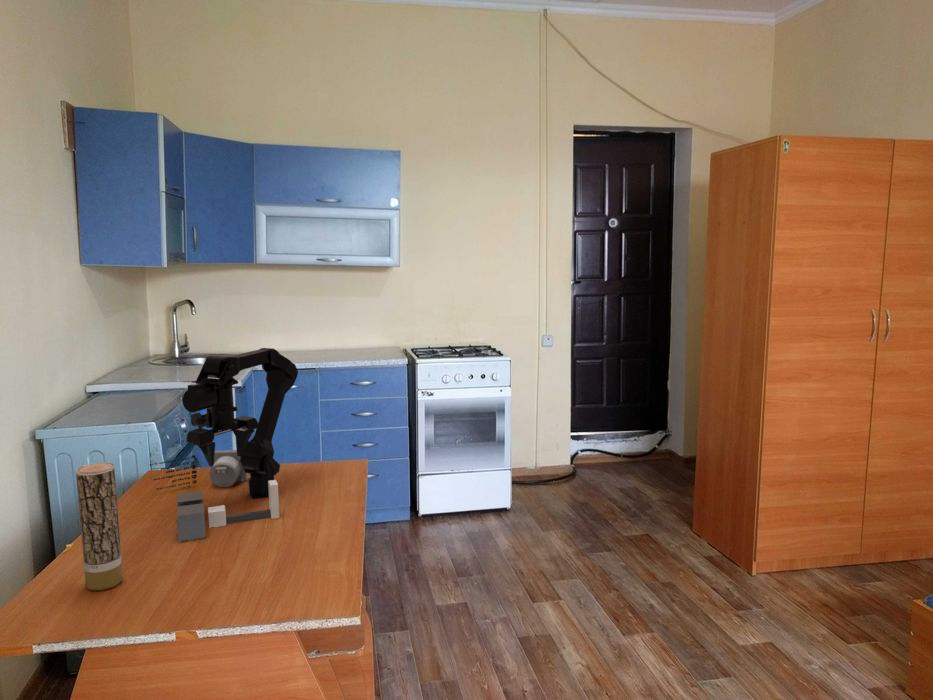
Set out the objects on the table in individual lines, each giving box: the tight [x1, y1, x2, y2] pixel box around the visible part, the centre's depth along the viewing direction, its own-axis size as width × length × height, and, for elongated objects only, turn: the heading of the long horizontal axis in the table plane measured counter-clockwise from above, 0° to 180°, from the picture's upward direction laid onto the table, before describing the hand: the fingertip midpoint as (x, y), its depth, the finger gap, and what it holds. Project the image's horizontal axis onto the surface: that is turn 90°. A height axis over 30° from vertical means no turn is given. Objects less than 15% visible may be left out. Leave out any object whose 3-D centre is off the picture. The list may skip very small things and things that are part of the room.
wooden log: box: [75, 462, 124, 591], centre depth 136 cm, size 7×7×25 cm
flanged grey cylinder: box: [148, 449, 248, 491], centre depth 193 cm, size 27×11×10 cm, turn 128°
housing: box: [176, 490, 207, 542], centre depth 166 cm, size 6×16×6 cm, turn 23°
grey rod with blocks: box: [207, 479, 280, 529], centre depth 170 cm, size 17×4×9 cm, turn 113°
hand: (225, 461), depth 176 cm, fingers open, 9 cm apart
